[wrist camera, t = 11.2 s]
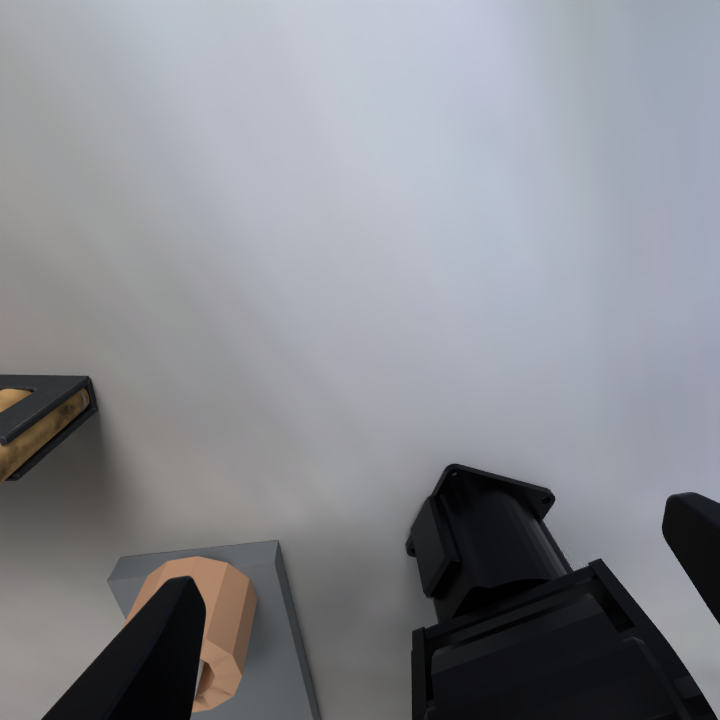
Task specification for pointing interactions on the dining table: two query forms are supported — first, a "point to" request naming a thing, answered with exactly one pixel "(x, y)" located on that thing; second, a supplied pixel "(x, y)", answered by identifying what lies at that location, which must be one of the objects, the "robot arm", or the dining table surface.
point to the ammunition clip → (39, 417)
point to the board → (267, 638)
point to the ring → (213, 622)
